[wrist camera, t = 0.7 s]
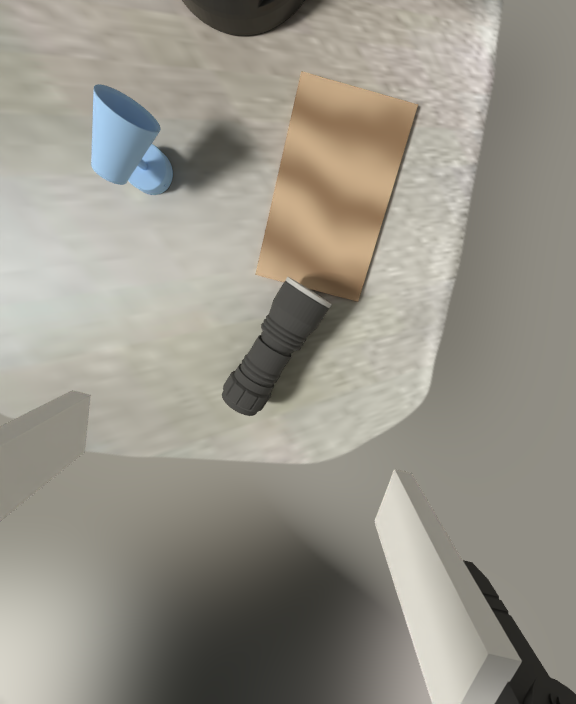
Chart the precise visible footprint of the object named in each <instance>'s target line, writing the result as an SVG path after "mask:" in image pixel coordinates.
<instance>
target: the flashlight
mask: <svg viewBox="0 0 576 704" xmlns="http://www.w3.org/2000/svg"><path fill="white" fill-rule="evenodd" d="M331 305H332V304H331V303H329V302H328V301H326V300H325V299H324V298H322V297H321V296H319V295H318V294H316V293H314V292H313V291H311V290H310V289H308V288H307V287H305V286H303V285H302V284H300V283H299V282H297V281H295V280H294V279H292V278H290V277H287V278H286V281H285V282H284V283H283V285H282V287H281V288H280V290H279V292H278V293H277V295H276V297H275V298H274V300H273V303H272V306H271V310H270V313H269V315H267V316H266V319H265V320H264V323H262V324H261V328H262V330H263V332H262V334H261V335H260V336H258V338H257V340H256V341H255V343H254V345H253V346H252V348H251V349H250V351H249V353H248V354H247V355H245V357H244V359H243V360H242V364H240V365H239V366H238V368H237V369H236V371H233V372H232V373H231V374H230V376H229V377H228V379H227V381H226V382H225V384H224V386H223V390H224V391H223V393H222V398H223V400H224V401H225V403H226V404H227V405H228V406H229V407H231V408H232V409H233V410H235V411H237V412H239V413H241V414H244V415H248V416H253V415H255V414H256V413H257V412H258V411H261V410H262V409H263V407H264V406H265V404H266V403H267V401H268V400H269V398H270V396H271V393H270V392H271V390H272V389H273V387H274V383H276V382H277V379H278V378H279V377H280V373H281V371H282V370H283V368H284V367H285V365H286V364H287V362H288V361H289V359H290V357H291V353H292V352H293V351H294V350H299V349H301V346H302V345H303V342H305V341H306V337H307V336H308V335H309V334H310V333H311V332H312V331H314V330H315V329H316V328H317V326H318V325H319V323H320V322H321V320H322V319H323V317H324V315H325V314H326V312H327V311H328V309H329V308H330V306H331Z"/></svg>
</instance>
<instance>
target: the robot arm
mask: <svg viewBox="0 0 576 704" xmlns="http://www.w3.org/2000/svg"><path fill="white" fill-rule="evenodd" d="M182 1H183V2H184V4H185V5H186V6H187V7H188V9H189V10H190V11H191V12H192V13H193V14H194V15H195V16H196V17H198V18H199V19H200V20H201V21H203V22H204V23H206V24H207V25H209V26H211V27H212V28H214V29H217V30H219V31H222V32H225V33H228V34H233V35H254V34H259V33H263V32H266V31H268V30H271V29H273V28H275V27H277V26H278V25H280V24H282V23H283V22H284V21H286V20H287V19H288V18H289V17H290V16H292V15H293V14H294V13H295V12H296V11H297V9H298V8H299V7H300V6H301V5H302V3H303V2H304V1H305V0H182ZM90 396H91V395H89V394H85V393H81V392H76V391H70V392H68V393H66V394H64V395H62V396H60V397H58V398H56V399H54V400H52V401H50V402H48V403H46V404H44V405H42V406H40V407H38V408H36V409H34V410H32V411H30V412H28V413H26V414H24V415H22V416H20V417H18V418H16V419H14V420H12V421H10V422H8V423H6V424H4V425H2V426H0V521H2V520H3V519H4V518H5V517H7V516H8V515H9V514H10V513H11V512H12V511H14V510H15V509H16V508H17V507H19V506H20V505H21V504H22V503H24V502H25V501H26V500H27V499H28V498H30V497H31V496H32V495H33V494H35V493H36V492H37V491H38V490H39V489H41V488H42V487H43V486H44V485H45V484H47V483H48V482H49V481H50V480H52V479H53V478H54V477H55V476H56V475H57V474H59V473H60V472H61V471H63V470H64V469H65V468H66V467H68V466H69V465H70V464H71V463H72V462H73V461H75V460H76V459H77V458H78V457H80V456H81V455H82V454H83V453H85V444H86V434H87V425H88V415H89V405H90ZM374 522H375V525H376V528H377V531H378V534H379V537H380V541H381V544H382V547H383V550H384V553H385V556H386V560H387V563H388V566H389V569H390V572H391V575H392V579H393V582H394V585H395V588H396V591H397V594H398V597H399V601H400V603H401V607H402V610H403V613H404V616H405V619H406V623H407V626H408V629H409V632H410V635H411V638H412V642H413V645H414V648H415V651H416V654H417V657H418V660H419V664H420V667H421V670H422V673H423V676H424V680H425V683H426V686H427V689H428V692H429V695H430V698H431V701H432V704H576V694H575V693H574V692H573V691H571V690H570V689H569V688H568V687H566V686H565V685H563V684H561V683H560V682H558V681H557V680H555V679H552V678H550V677H549V675H548V673H547V672H546V670H545V669H544V667H543V666H542V664H541V662H540V661H539V659H538V658H537V656H536V655H535V653H534V651H533V650H532V648H531V647H530V645H529V643H528V642H527V640H526V639H525V637H524V636H523V634H522V633H521V631H520V629H519V628H518V626H517V625H516V623H515V621H514V620H513V618H512V617H511V616H510V615H509V614H508V610H507V609H506V607H505V606H504V604H503V602H502V601H501V600H499V596H498V595H497V593H496V591H495V590H494V588H493V587H492V585H491V583H490V582H489V580H488V579H487V578H486V577H485V576H484V575H483V573H482V572H481V571H480V570H479V569H478V568H477V567H476V566H475V565H474V564H473V563H472V562H468V561H464V560H462V558H461V556H460V555H459V553H458V551H457V550H456V548H455V546H454V545H453V543H452V542H451V539H450V538H449V536H448V534H447V533H446V531H445V529H444V528H443V526H442V524H441V522H440V521H439V519H438V517H437V516H436V514H435V512H434V510H433V509H432V507H431V505H430V504H429V502H428V500H427V498H426V497H425V495H424V493H423V492H422V490H421V488H420V487H419V485H418V483H417V481H416V480H415V478H414V476H413V475H412V473H409V472H405V471H401V470H397V469H394V472H393V474H392V477H391V479H390V482H389V485H388V487H387V490H386V492H385V495H384V498H383V500H382V503H381V505H380V508H379V511H378V513H377V516H376V519H375V521H374Z"/></svg>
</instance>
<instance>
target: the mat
mask: <svg viewBox="0 0 576 704" xmlns="http://www.w3.org/2000/svg"><path fill="white" fill-rule="evenodd" d="M417 107H418V104H414V103H411V102H407V101H404V100H400V99H397V98H393V97H390V96H386V95H383V94H379V93H376V92H372V91H369V90H365V89H362V88H358V87H355V86H351V85H348V84H344V83H341V82H337V81H334V80H330V79H327V78H323V77H320V76H316V75H313V74H309V73H306V72H302V71H301V75H300V80H299V84H298V89H297V93H296V97H295V102H294V106H293V111H292V115H291V120H290V124H289V128H288V133H287V137H286V142H285V146H284V151H283V155H282V159H281V164H280V168H279V173H278V177H277V181H276V186H275V190H274V195H273V199H272V204H271V208H270V212H269V217H268V221H267V226H266V230H265V235H264V239H263V243H262V248H261V252H260V257H259V261H258V265H257V270H256V274H255V275H259V276H262V277H266V278H270V279H274V280H278V281H281V282H285V281H286V278H287V277H290V278H292V279H294V280H295V281H297V282H299V283H300V284H302V285H303V286H305V287H307V288H308V289H312V290H316V291H319V292H323V293H327V294H331V295H335V296H338V297H342V298H346V299H350V300H354V301H357V302H358V300H359V297H360V294H361V291H362V287H363V284H364V281H365V277H366V274H367V271H368V268H369V264H370V261H371V258H372V254H373V251H374V248H375V245H376V241H377V238H378V235H379V231H380V228H381V225H382V222H383V218H384V215H385V212H386V208H387V205H388V202H389V199H390V195H391V192H392V189H393V185H394V182H395V179H396V176H397V172H398V169H399V166H400V163H401V159H402V156H403V153H404V149H405V146H406V143H407V140H408V136H409V133H410V130H411V126H412V123H413V120H414V117H415V113H416V110H417Z"/></svg>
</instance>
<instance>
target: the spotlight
mask: <svg viewBox="0 0 576 704" xmlns="http://www.w3.org/2000/svg"><path fill="white" fill-rule="evenodd" d="M159 132H160V125H159V123H158V122H157V121H156V119H155V118H154V117H153V116H152V115H151V114H150V113H149V112H148V111H147V110H146V109H145V108H143V107H142V106H141V105H140V104H138V103H137V102H136V101H134V100H133V99H131V98H130V97H128V96H127V95H125V94H123V93H121V92H119V91H117V90H115V89H113V88H111V87H108V86H105V85H95V86H94V98H93V130H92V162H91V165H92V168H93V170H94V171H95V172H96V173H97V174H98V175H100V176H101V177H102V178H104V179H106V180H108V181H110V182H112V183H115V184H120V185H123V184H126V183H127V181H129V182H130V183H131V184H132V185H133V186H135V187H136V188H138V189H139V190H141V191H143V192H144V193H147V194H150V195H158V194H161V193H163V192H164V191H166V190H167V189H168V187H169V186H170V184H171V182H172V178H173V170H172V166H171V163H170V161H169V159H168V158H167V157H166V156H165V155H164V154H163V153H162V152H161V151H160V150H159V149H158V148H157V147H156V146H154V145H153V144H152V142H153V141H154V139H155V138H156V136H157V135H158V133H159Z"/></svg>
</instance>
